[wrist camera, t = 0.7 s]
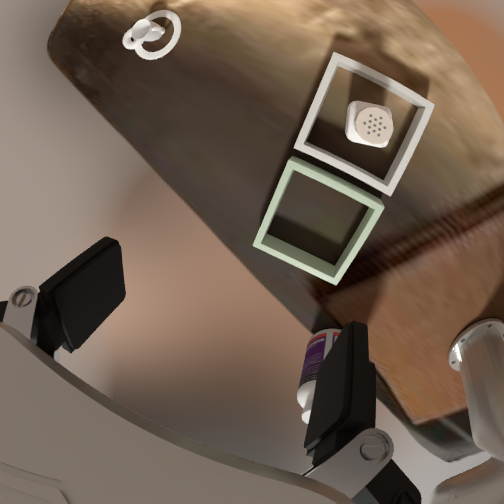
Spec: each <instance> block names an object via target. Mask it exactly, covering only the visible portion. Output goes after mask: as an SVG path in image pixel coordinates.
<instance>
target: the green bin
mask: <svg viewBox="0 0 504 504" xmlns="http://www.w3.org/2000/svg"><path fill="white" fill-rule="evenodd" d="M294 170H296V171H298V172H300V173H302V174H305V175H307V176H309V177H311V178H313V179H315V180H317V181H319V182H321V183H324V184H326V185H328V186H330V187H332V188H334V189H336V190H338V191H340V192H342V193H344V194H346V195H348V196H350V197H351V198H353V199H355V200H357V201H359V202H361V203H363V204H365V205H367V206H368V207H369V208H368V210H367V212H366V214H365V216H364V217H363V219H362V221H361V223H360V224H359V226H358V228H357V230H356V231H355V233H354V235H353V236H352V238H351V240H350V242H349V243H348V245H347V247H346V248H345V250H344V252H343V253H342V255H341V257H340V258H339V260H338V261H337V263H336V265H335V266H334V265H332V264H330V263H328V262H326V261H323V260H321V259H319V258H317V257H315V256H313V255H311V254H309V253H307V252H305V251H303V250H301V249H299V248H296V247H294V246H292V245H290V244H288V243H286V242H284V241H282V240H280V239H278V238H275V237H273V236H271V235H269V234H267V231H268V229H269V227H270V224H271V222H272V220H273V218H274V215H275V213H276V211H277V208H278V206H279V204H280V201H281V199H282V197H283V195H284V192H285V190H286V188H287V185H288V183H289V181H290V178H291V176H292V174H293V171H294ZM383 209H384V205H383V203H382V201H381V199H379V198H377V197H376V196H374V195H372V194H370V193H368V192H366V191H365V190H363V189H361V188H359V187H357V186H355V185H353V184H351V183H349V182H347V181H345V180H344V179H342V178H340V177H338V176H336V175H334V174H331V173H329V172H327V171H325V170H323V169H321V168H319V167H317V166H315V165H313V164H310V163H308V162H306V161H304V160H302V159H299V158H297V157H295V156H292V157H291V158H290V159H289V160H288V162H287V165H286V167H285V169H284V172H283V174H282V177H281V179H280V181H279V184H278V186H277V189H276V191H275V193H274V196H273V198H272V200H271V203H270V205H269V208H268V210H267V212H266V215H265V217H264V220H263V222H262V224H261V227H260V229H259V232H258V234H257V236H256V239H255V241H254V244H253V246H254V247H256V248H258V249H261V250H263V251H265V252H267V253H269V254H271V255H273V256H275V257H277V258H280V259H282V260H284V261H286V262H288V263H290V264H292V265H294V266H296V267H298V268H301V269H303V270H305V271H307V272H309V273H311V274H313V275H315V276H317V277H319V278H322V279H324V280H326V281H328V282H330V283H332V284H334V285H337V284H338V282H339V281H340V279H341V278H342V276H343V275H344V273H345V272H346V270H347V269H348V267H349V265H350V264H351V262H352V261H353V259H354V258H355V256H356V254H357V253H358V251H359V250H360V248H361V246H362V245H363V243H364V242H365V240H366V238H367V237H368V235H369V233H370V232H371V230H372V228H373V226H374V225H375V223H376V221H377V220H378V218H379V216H380V214H381V213H382V211H383Z"/></svg>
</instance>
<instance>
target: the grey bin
mask: <svg viewBox="0 0 504 504" xmlns="http://www.w3.org/2000/svg"><path fill="white" fill-rule="evenodd" d="M338 66H339V67H342V68H344V69H346V70H349V71H351V72H353V73H355V74H357V75H359V76H362V77H364V78H366V79H368V80H370V81H372V82H374V83H376V84H378V85H380V86H382V87H383V88H385V89H387V90H389V91H391V92H393V93H394V94H396V95H398V96H400V97H402V98H403V99H405V100H407V101H408V102H410V103H412V104H413V105H415V106H417V107H418V109H417V112H416V114H415V116H414V118H413V121H412V123H411V125H410V127H409V129H408V132H407V134H406V136H405V138H404V140H403V142H402V144H401V146H400V149H399V151H398V153H397V155H396V157H395V159H394V161H393V163H392V165H391V167H390V169H389V171H388V173H387V175H386V177H385V178H384V180H382V179H380V178H378V177H376V176H375V175H373V174H371V173H369V172H367V171H365V170H364V169H362V168H360V167H358V166H356V165H354V164H352V163H350V162H348V161H346V160H344V159H342V158H340V157H338V156H336V155H334V154H332V153H330V152H328V151H326V150H324V149H321V148H319V147H317V146H315V145H313V144H310V143H308V142H306V141H307V139H308V136H309V134H310V132H311V129H312V127H313V125H314V122H315V120H316V118H317V115H318V113H319V111H320V108H321V106H322V104H323V101H324V99H325V97H326V94H327V92H328V90H329V87H330V85H331V82H332V80H333V78H334V75H335V73H336V71H337V68H338ZM434 106H435V105H434V104H432V103H431V102H429V101H428V100H426V99H425V98H423V97H421V96H420V95H418V94H417V93H415V92H413V91H412V90H410V89H408V88H407V87H405V86H403V85H401V84H400V83H398V82H396V81H394V80H393V79H391V78H389V77H387V76H385V75H383V74H381V73H379V72H377V71H375V70H373V69H371V68H369V67H367V66H365V65H363V64H361V63H359V62H356V61H354V60H352V59H350V58H347V57H345V56H343V55H340V54H338V53H335V52H334V53H333V55H332V57H331V60H330V62H329V65H328V67H327V69H326V72H325V74H324V76H323V79H322V81H321V84H320V86H319V88H318V91H317V93H316V95H315V98H314V100H313V103H312V105H311V107H310V110H309V112H308V114H307V117H306V119H305V122H304V124H303V126H302V129H301V131H300V134H299V136H298V138H297V141H296V143H295V146H294V148H295V149H297V150H300V151H302V152H304V153H306V154H309V155H311V156H313V157H315V158H317V159H319V160H321V161H324V162H326V163H328V164H330V165H332V166H334V167H336V168H338V169H340V170H342V171H344V172H346V173H348V174H350V175H352V176H354V177H356V178H358V179H359V180H361V181H363V182H365V183H367V184H369V185H371V186H372V187H374V188H376V189H378V190H380V191H381V192H383V193H385V194H387V195H389V196H390V197H391V195H392V193H393V191H394V189H395V187H396V185H397V184H398V182H399V180H400V178H401V176H402V174H403V172H404V170H405V168H406V166H407V164H408V162H409V160H410V158H411V156H412V154H413V152H414V150H415V148H416V146H417V144H418V142H419V140H420V137H421V135H422V133H423V131H424V129H425V127H426V124H427V122H428V120H429V118H430V115H431V113H432V111H433V108H434Z"/></svg>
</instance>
